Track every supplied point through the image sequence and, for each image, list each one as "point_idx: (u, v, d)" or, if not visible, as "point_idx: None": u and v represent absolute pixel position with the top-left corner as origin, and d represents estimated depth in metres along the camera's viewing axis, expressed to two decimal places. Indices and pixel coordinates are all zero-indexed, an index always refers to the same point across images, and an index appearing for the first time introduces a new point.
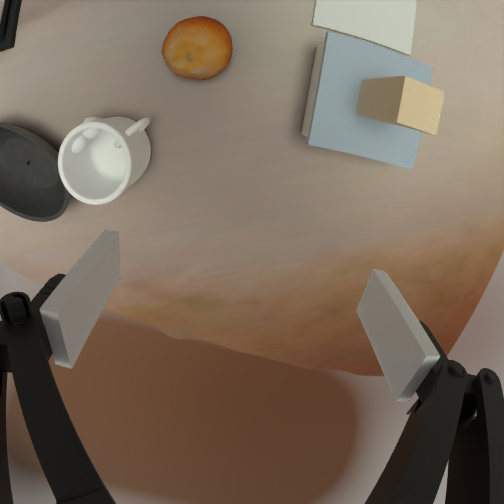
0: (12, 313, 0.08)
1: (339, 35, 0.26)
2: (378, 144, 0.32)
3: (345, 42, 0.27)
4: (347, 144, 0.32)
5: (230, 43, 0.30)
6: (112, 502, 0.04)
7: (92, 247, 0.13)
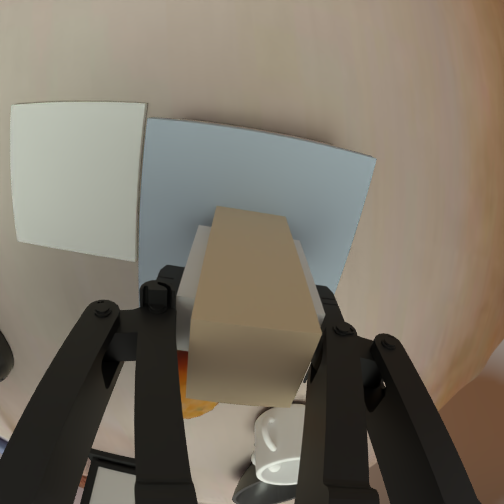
0: (152, 299, 0.10)
1: None
2: (326, 233, 0.19)
3: None
4: None
5: (180, 372, 0.29)
6: (195, 498, 0.05)
7: (196, 240, 0.15)
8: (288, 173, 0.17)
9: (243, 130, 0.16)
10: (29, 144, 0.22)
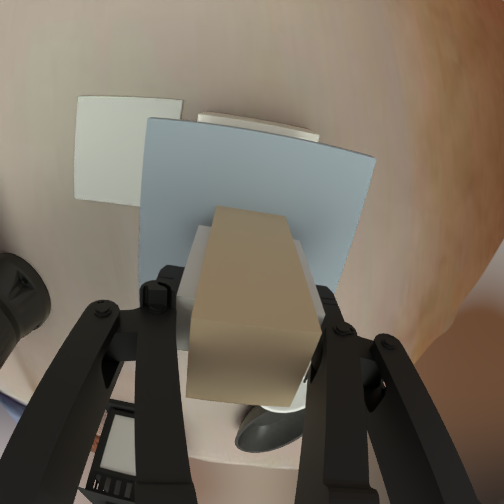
0: (152, 298, 0.10)
1: None
2: (326, 233, 0.19)
3: None
4: (323, 285, 0.21)
5: None
6: (195, 498, 0.05)
7: (196, 240, 0.15)
8: (288, 173, 0.17)
9: (243, 130, 0.16)
10: (93, 125, 0.34)
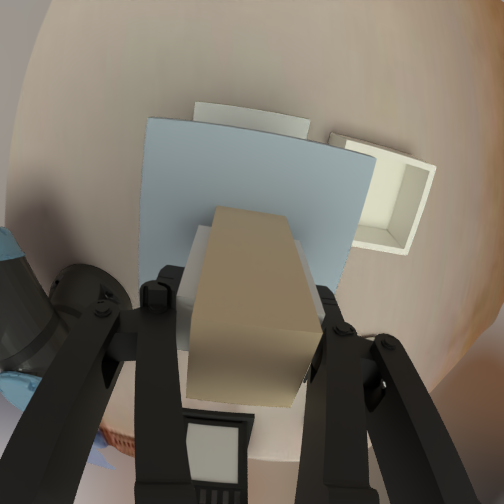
0: (152, 298, 0.10)
1: None
2: (326, 233, 0.19)
3: None
4: (323, 285, 0.21)
5: None
6: (195, 498, 0.05)
7: (196, 240, 0.15)
8: (288, 173, 0.17)
9: (243, 130, 0.16)
10: None
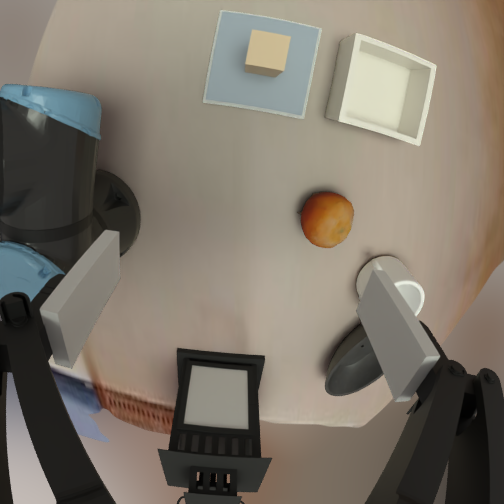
0: (12, 313, 0.08)
1: (208, 90, 0.38)
2: (299, 58, 0.36)
3: (214, 85, 0.38)
4: (300, 84, 0.38)
5: (331, 197, 0.42)
6: (112, 502, 0.04)
7: (92, 247, 0.13)
8: (281, 33, 0.35)
9: (262, 17, 0.33)
10: None
